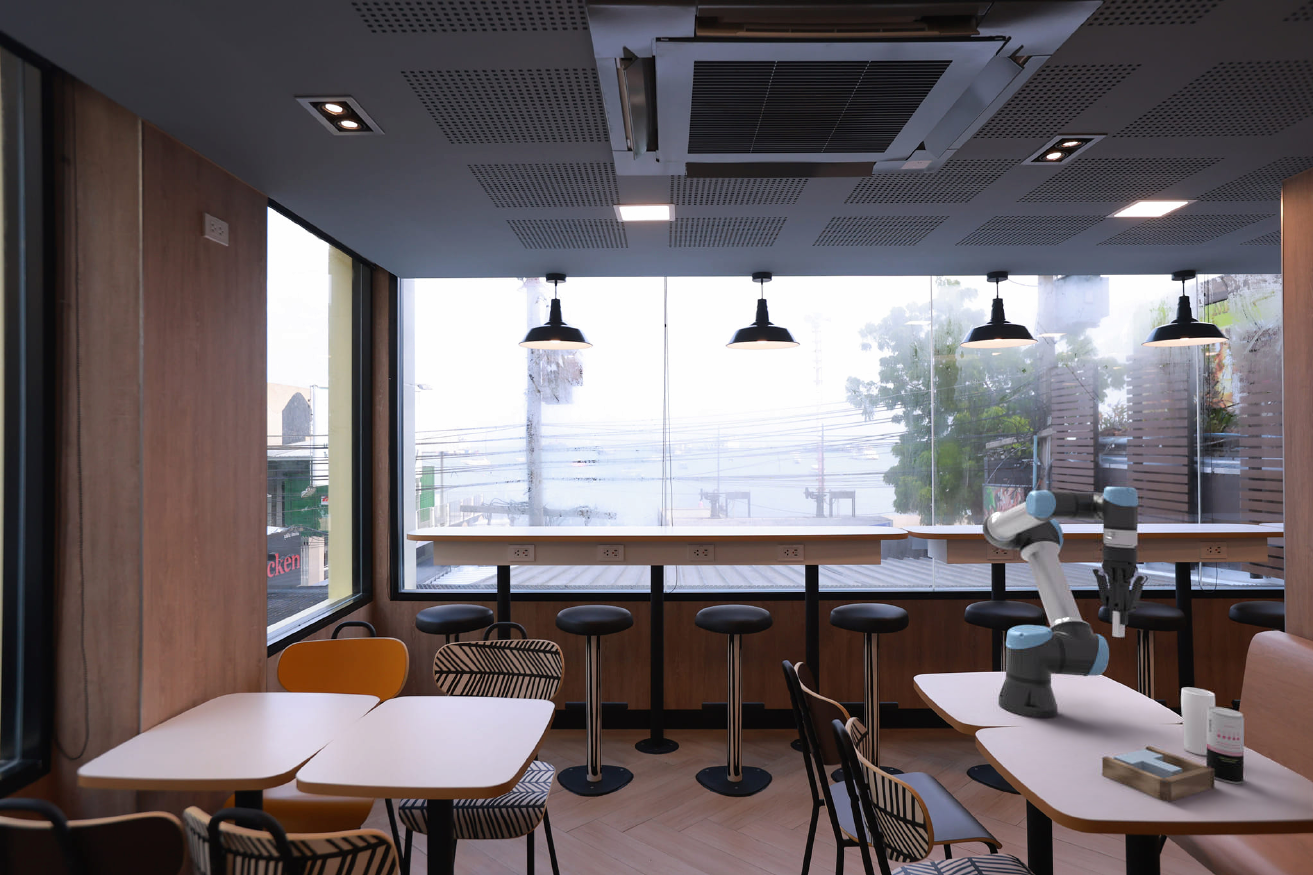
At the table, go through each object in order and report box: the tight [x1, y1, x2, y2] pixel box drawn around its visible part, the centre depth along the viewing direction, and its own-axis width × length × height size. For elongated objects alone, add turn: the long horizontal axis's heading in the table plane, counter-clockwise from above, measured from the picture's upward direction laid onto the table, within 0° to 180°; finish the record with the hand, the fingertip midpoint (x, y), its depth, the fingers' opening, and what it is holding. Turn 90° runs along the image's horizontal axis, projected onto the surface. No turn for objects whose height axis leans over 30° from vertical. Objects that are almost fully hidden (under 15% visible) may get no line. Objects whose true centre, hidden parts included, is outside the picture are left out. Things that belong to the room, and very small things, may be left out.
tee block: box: [1113, 748, 1182, 778], centre depth 158 cm, size 10×12×4 cm
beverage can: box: [1206, 706, 1245, 784], centre depth 161 cm, size 6×7×15 cm
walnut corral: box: [1101, 745, 1215, 803], centre depth 157 cm, size 14×18×4 cm
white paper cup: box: [1180, 686, 1216, 756], centre depth 175 cm, size 7×7×15 cm
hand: (1118, 636), depth 183 cm, fingers closed
